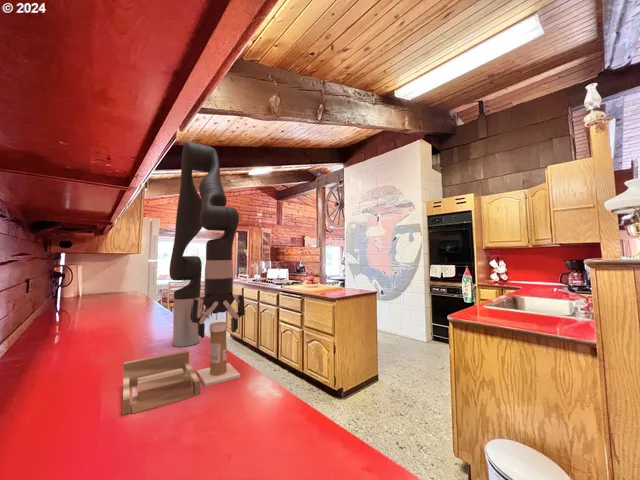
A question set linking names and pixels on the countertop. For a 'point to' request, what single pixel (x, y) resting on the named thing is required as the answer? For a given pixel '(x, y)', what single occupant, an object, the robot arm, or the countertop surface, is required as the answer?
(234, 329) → the robot arm
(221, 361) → the sprinkles bottle
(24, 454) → the countertop surface
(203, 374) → the cream mat
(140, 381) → the frame
